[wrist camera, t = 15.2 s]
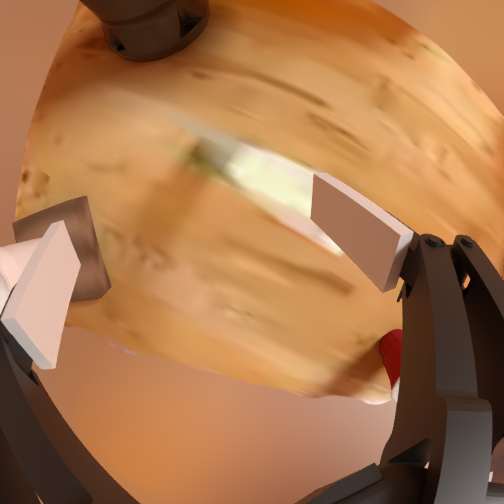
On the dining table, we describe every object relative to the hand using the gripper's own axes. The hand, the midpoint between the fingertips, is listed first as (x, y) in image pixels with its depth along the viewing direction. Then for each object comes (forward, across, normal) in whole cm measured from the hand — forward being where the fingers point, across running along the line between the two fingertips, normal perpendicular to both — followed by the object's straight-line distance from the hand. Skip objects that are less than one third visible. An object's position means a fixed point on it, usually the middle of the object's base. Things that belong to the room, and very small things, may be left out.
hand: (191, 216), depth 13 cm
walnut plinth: (+24, -20, -13) cm, 34 cm away
